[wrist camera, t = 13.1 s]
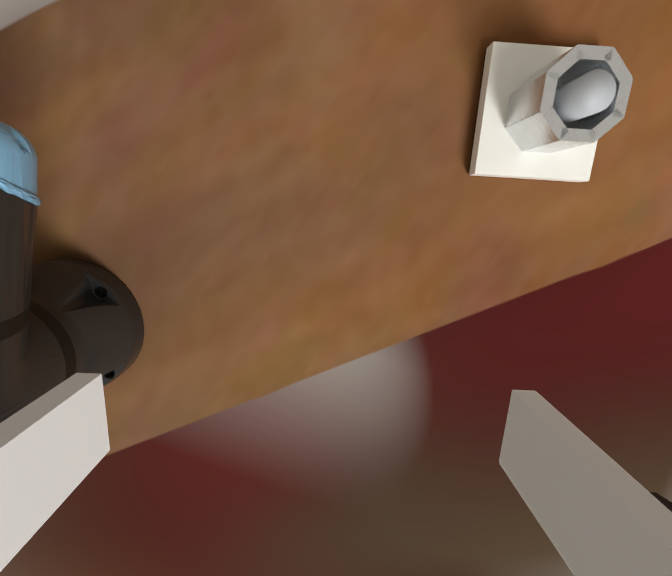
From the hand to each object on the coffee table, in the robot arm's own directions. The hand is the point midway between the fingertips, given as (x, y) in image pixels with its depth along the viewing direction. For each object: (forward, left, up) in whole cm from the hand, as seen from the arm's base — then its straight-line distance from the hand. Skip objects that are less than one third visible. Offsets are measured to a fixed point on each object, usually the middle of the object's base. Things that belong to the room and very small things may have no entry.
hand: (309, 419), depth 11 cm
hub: (+21, +17, -27) cm, 38 cm away
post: (+21, +17, -29) cm, 39 cm away
